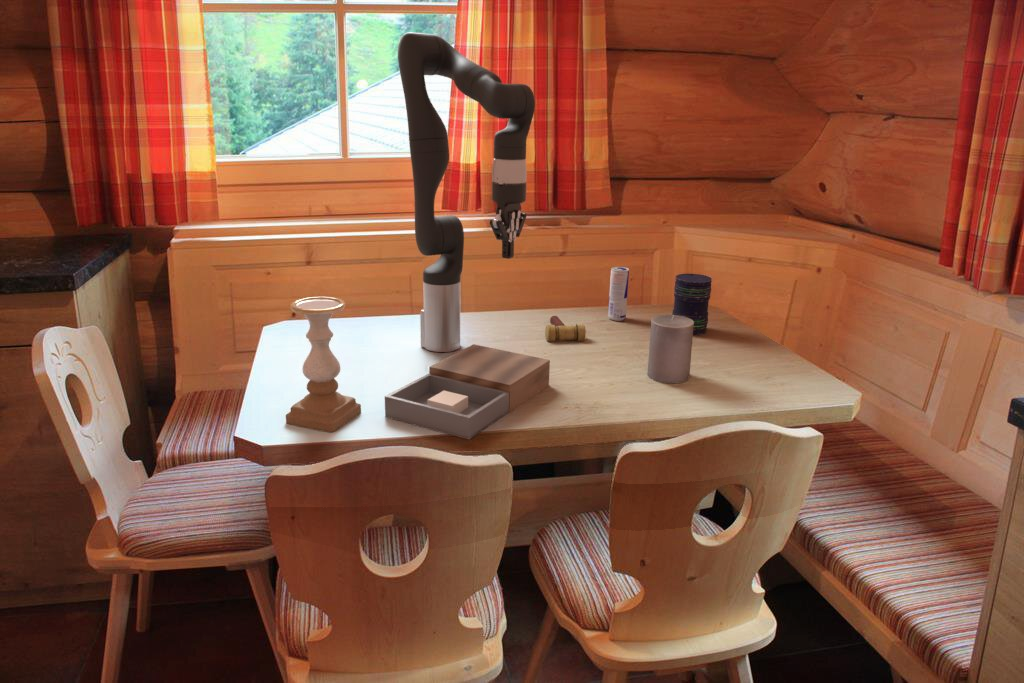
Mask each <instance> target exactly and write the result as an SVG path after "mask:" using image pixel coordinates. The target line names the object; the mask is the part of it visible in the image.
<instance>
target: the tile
mask: <svg viewBox="0 0 1024 683" xmlns="http://www.w3.org/2000/svg"><path fill="white" fill-rule="evenodd" d="M427 405H428V406H432V407H436V408H440V409H444V410H448V411H452V412H456V413H460V412H462V411H463V410H465V409H467V408H468V396H465V395H461V394H456V393H452V392H448V391H442V392H440V393H439V394H437V395H435V396H433V397H431V398H430V399H428V400H427Z"/></svg>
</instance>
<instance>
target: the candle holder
mask: <svg viewBox="0 0 1024 683" xmlns="http://www.w3.org/2000/svg"><path fill="white" fill-rule="evenodd" d="M345 307H346V302H345V301H344V300H343V299H341V298H338V297H333V296H309V297H302V298H298V299H296V300H294V301H292V302H291V303H290V310H291V311H292V312H293V313H296V314H298V315H304V317H305V319H306V320H308V323H309V329H308V331H307V333H306V334H305V338H306V339H307V340H308V342H309V343H310V345H311V348H310V352H309V353H308V355H307V356H306V358H305V360H304V362H303V364H302V374H303V376H304V377H305V378H306V379H307V380H308V382H307V383H306V390H307V391H308V392H309V393H308V394H306V395H305V396H304V397H303V398H302V399H300V400H299V401H297V402H296V403H294V404H293V405H291V407H290V411H289V412H288V413H286V414H285V423H286V424H287V425H290V426H294V427H300V428H305V429H310V430H314V431H315V430H317V431H321V432H327V433H334V432H335V431H337V430H339V429H341V428H342V427H343V426H345V425H347V423H349V422H350V421H352V420H353V419H355V418H356V417H357V416H359V415H360V414H361V413H362V406H361V403H358V402H357V400H356V398H355V397H353V396H348V395H343V394H341V393H340V392H338V391H337V390H338V389H339V382H338V381H337V379H336V378H337V376H339V374H340V373H341V363H340V361H339V359H338V358H337V357H336V356H335V353H333V351H332V350H331V348H330V342H331V341H332V339H333V337H334V332H333V331H332V329H330V327H329V321H330V319H331V318H332V316H333V314H335V313H339V312H341V311H342V310H344V309H345Z"/></svg>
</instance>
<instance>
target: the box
mask: <svg viewBox="0 0 1024 683" xmlns="http://www.w3.org/2000/svg"><path fill="white" fill-rule="evenodd" d="M442 391H448V392H452V393H456V394H461V395H465V396H468V408H467V409H465V410H463V411H462V412H460V413H456V412H452V411H448V410H444V409H440V408H436V407H432V406H428V405H427V400H428V399H430V398H431V397H433V396H435V395H437V394H439V393H440V392H442ZM509 413H510V412H509V392H505V391H501V390H497V389H493V388H488V387H484V386H480V385H475V384H471V383H467V382H462V381H458V380H454V379H450V378H445V377H441V376H437V375H432V374H429V373H427V374H425V375H423V376H421V377H419V378H417V379H415V380H414V381H411V382H410V383H407V384H406V385H404V386H402V387H400V388H398V389H395V390H394V391H392V392H391V393H390V392H389V393H388V394H386V395H384V414H385V416H384V417H385V418H387V419H390V420H391V419H392V420H396V421H397V422H398V421H399V422H403V423H406V424H410V425H414V426H418V427H421V428H423V429H428V430H432V431H436V432H439V433H443V434H447V435H451V436H453V437H454V436H455V437H458V438H462V439H465V440H468V441H469V440H471V439H472V438H474V437H476V436H477V435H478V434H480V433H481V432H482V431H484V430H486V429H488V427H490V426H491V425H493V424H494V423H496V422H497V421H499V420H500V419H502V418H503V417H505V416H506V415H508V414H509Z"/></svg>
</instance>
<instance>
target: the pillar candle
mask: <svg viewBox="0 0 1024 683" xmlns="http://www.w3.org/2000/svg"><path fill="white" fill-rule="evenodd" d="M650 322H651V323H650V335H649V348H648V360H647V361H648V362H647V373H646V374H647V377H648V378H649V379H650V380H652V379H653V380H652V381H656V382H657V381H658V382H659V383H661V382H662V384H682V383H685V382H687V381H688V380H689V378H690V375H691V374H690V373H691V363H692V362H691V361H692V350H693V337H694V336H693V327H694V322H693V320H691V319H690V318H687V317H684V316H678V315H672V314H659V315H656V316H653V317H652V318H651V321H650ZM681 382H682V383H681Z"/></svg>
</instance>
